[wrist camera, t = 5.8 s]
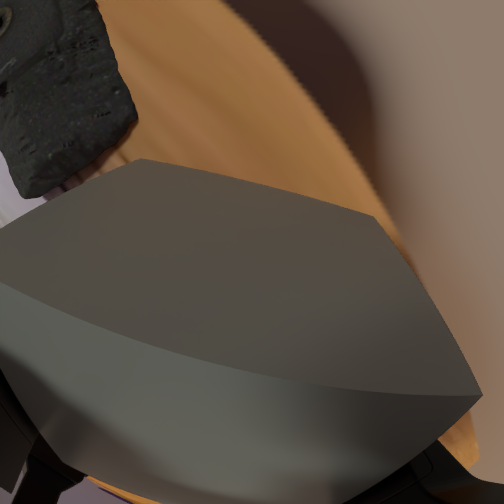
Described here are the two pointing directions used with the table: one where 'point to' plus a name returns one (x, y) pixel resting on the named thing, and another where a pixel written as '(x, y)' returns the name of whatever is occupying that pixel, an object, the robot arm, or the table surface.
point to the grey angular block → (222, 340)
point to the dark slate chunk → (57, 91)
